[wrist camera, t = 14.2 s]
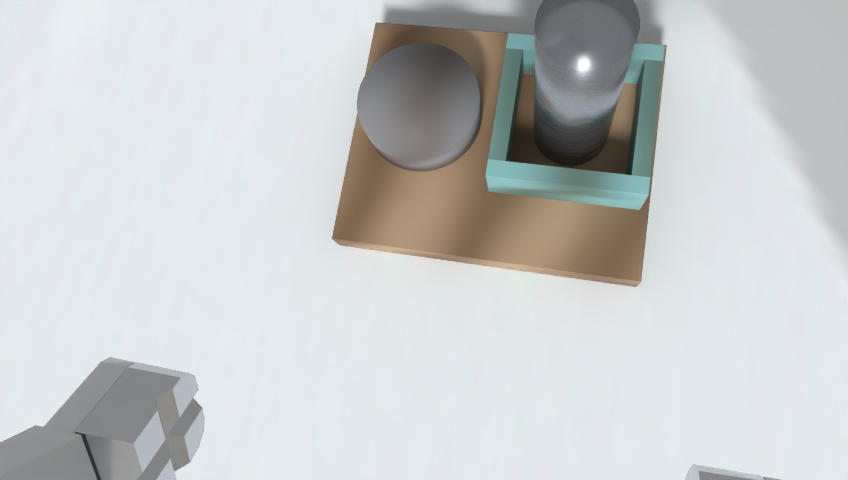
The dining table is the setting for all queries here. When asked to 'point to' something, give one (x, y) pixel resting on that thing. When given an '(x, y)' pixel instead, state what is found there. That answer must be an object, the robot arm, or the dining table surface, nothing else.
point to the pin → (580, 74)
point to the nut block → (492, 160)
